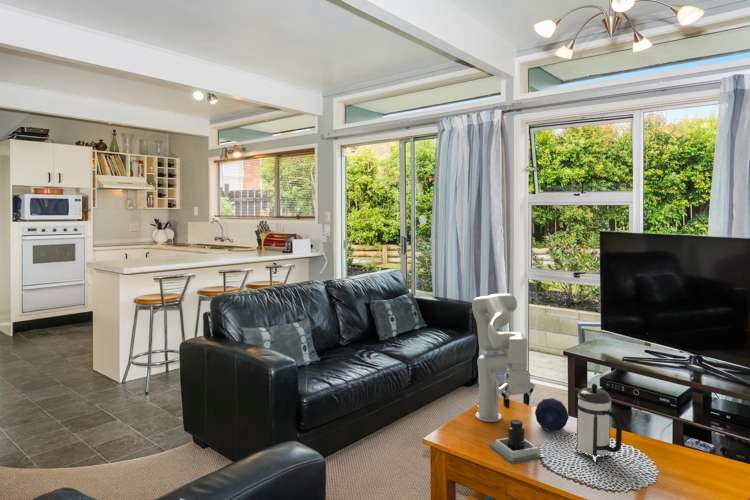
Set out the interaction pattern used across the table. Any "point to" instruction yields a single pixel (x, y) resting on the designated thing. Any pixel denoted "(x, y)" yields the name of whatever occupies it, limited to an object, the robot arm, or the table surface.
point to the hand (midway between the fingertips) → (516, 405)
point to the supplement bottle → (516, 435)
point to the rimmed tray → (518, 455)
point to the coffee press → (596, 422)
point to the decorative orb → (551, 414)
